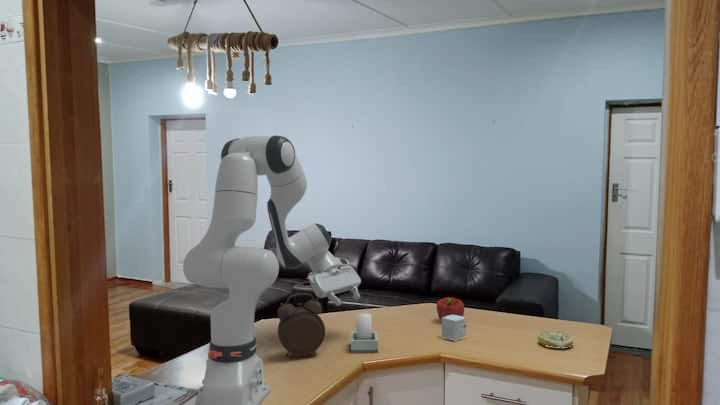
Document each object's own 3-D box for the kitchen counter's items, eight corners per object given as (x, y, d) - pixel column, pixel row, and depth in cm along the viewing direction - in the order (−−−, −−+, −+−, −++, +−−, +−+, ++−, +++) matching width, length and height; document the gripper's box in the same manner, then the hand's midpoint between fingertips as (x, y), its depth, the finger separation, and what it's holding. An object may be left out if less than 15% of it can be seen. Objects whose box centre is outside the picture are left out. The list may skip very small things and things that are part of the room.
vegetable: (463, 327, 192) (463, 300, 192) (435, 325, 195) (435, 299, 194) (464, 319, 203) (464, 293, 202) (437, 317, 205) (437, 292, 205)
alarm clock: (319, 348, 172) (318, 288, 170) (326, 356, 165) (325, 293, 163) (275, 355, 166) (274, 293, 165) (280, 363, 160) (279, 298, 158)
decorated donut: (565, 353, 166) (565, 341, 165) (532, 345, 173) (532, 334, 172) (577, 344, 173) (577, 333, 173) (545, 337, 180) (545, 327, 180)
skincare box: (455, 342, 177) (455, 320, 176) (441, 338, 181) (441, 317, 181) (466, 338, 181) (466, 317, 180) (452, 334, 185) (452, 313, 185)
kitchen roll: (372, 347, 169) (371, 317, 168) (356, 348, 169) (356, 317, 168) (371, 342, 174) (371, 313, 173) (356, 342, 174) (356, 313, 173)
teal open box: (377, 352, 167) (377, 340, 167) (351, 353, 167) (350, 340, 167) (376, 343, 176) (376, 331, 176) (351, 343, 176) (351, 332, 176)
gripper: (310, 267, 170) (333, 302, 165) (350, 259, 186) (372, 290, 181) (300, 279, 173) (322, 313, 168) (341, 270, 189) (362, 300, 184)
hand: (349, 301), depth 174 cm, fingers open, 8 cm apart
